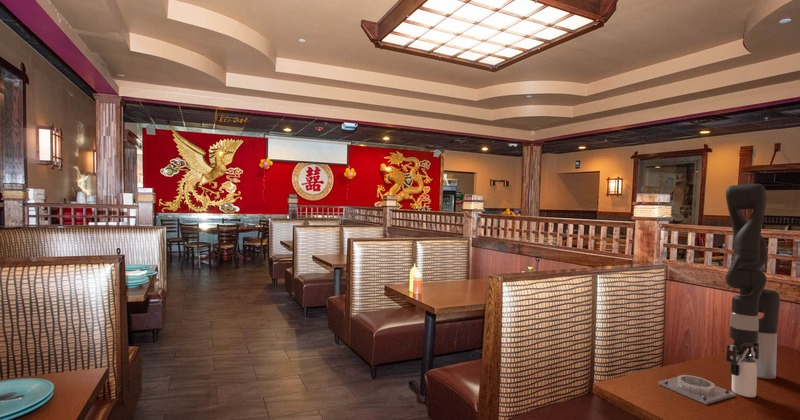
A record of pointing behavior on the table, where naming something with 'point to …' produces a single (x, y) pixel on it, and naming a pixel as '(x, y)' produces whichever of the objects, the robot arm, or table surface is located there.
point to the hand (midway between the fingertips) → (742, 373)
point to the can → (745, 378)
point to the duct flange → (697, 388)
